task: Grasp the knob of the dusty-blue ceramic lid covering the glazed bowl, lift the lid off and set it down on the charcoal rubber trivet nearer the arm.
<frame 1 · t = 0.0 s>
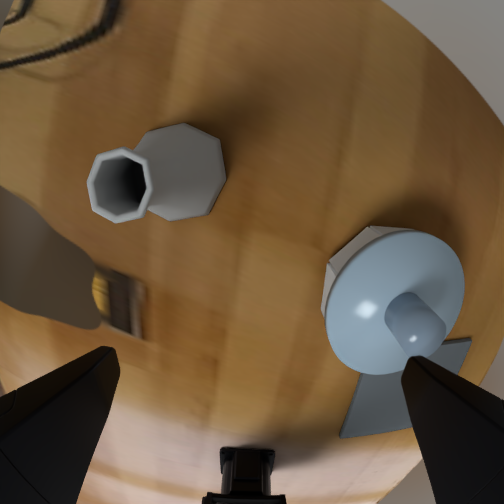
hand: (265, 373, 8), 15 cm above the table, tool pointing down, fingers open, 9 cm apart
bowl: (378, 283, 23), on the table
trivet: (405, 391, 27), on the table
flask: (178, 172, 21), on the table
lid: (397, 305, 19), point 4 cm above the table, touching bowl
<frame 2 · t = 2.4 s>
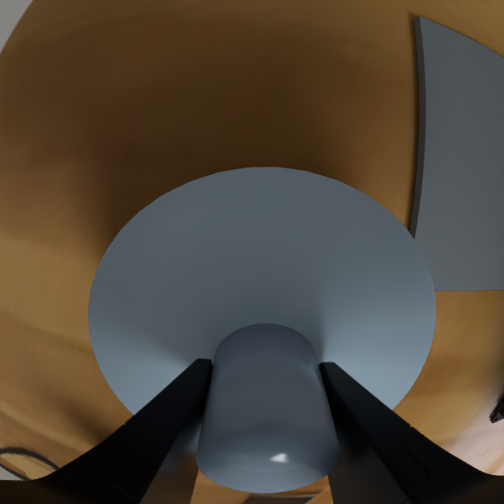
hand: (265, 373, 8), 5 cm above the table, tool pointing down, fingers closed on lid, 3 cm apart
lid: (264, 346, 9), point 4 cm above the table, touching bowl, gripper
when the fingers open (3 cm above the table, at t = 6.8 s): lid drops 1 cm, resting on trivet.
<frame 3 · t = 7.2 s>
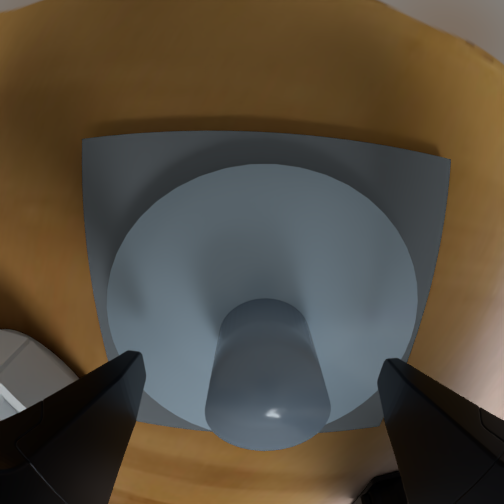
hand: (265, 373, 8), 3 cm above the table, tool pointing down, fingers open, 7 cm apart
bowl: (40, 391, 13), on the table
trivet: (262, 315, 11), on the table
lid: (263, 323, 11), point 1 cm above the table, touching trivet
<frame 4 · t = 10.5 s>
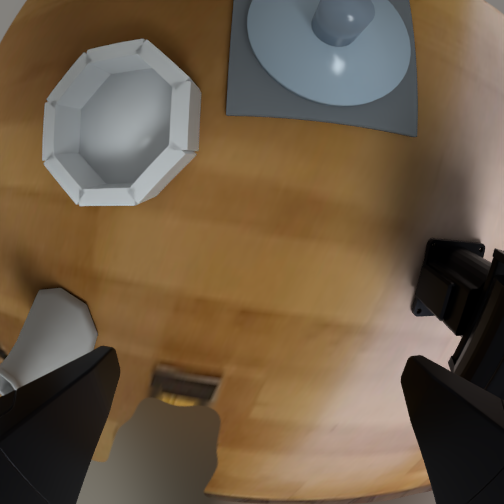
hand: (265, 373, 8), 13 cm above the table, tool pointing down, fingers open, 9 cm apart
bowl: (132, 126, 18), on the table
trivet: (328, 36, 16), on the table
flask: (67, 320, 23), on the table
lid: (330, 33, 15), point 1 cm above the table, touching trivet
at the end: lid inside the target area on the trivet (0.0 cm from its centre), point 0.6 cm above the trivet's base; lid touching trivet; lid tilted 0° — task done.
